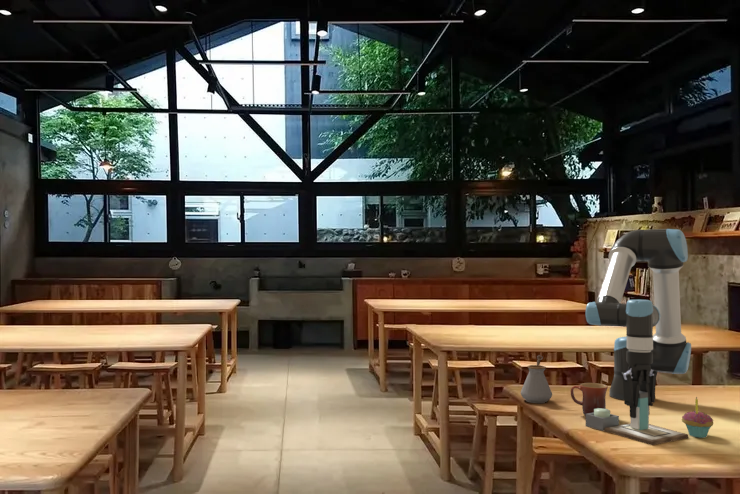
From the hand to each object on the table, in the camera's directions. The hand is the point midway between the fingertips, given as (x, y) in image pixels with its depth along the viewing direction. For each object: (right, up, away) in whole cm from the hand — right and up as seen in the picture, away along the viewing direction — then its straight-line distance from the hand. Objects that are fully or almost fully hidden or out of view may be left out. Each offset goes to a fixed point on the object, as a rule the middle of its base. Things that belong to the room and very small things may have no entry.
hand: (639, 427), depth 199 cm
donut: (+16, -2, -3) cm, 17 cm away
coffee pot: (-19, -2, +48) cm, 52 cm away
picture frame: (+1, -2, -2) cm, 3 cm away
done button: (-9, 0, +7) cm, 11 cm away
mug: (-8, -2, +22) cm, 23 cm away
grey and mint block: (0, 0, 0) cm, 0 cm away
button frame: (-9, -2, +7) cm, 11 cm away
